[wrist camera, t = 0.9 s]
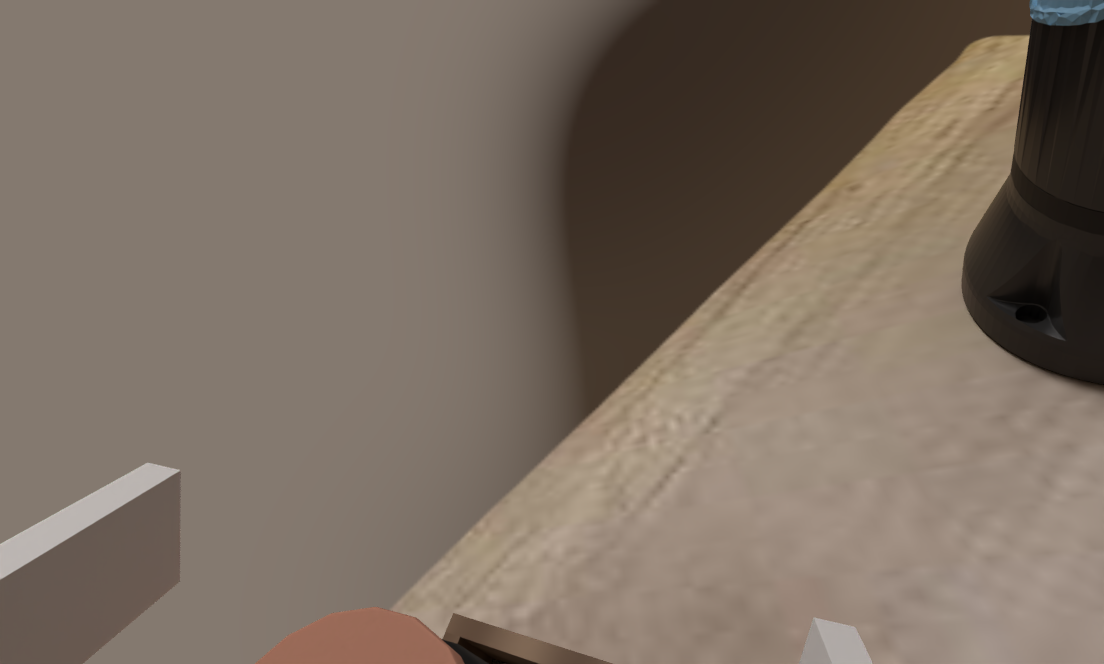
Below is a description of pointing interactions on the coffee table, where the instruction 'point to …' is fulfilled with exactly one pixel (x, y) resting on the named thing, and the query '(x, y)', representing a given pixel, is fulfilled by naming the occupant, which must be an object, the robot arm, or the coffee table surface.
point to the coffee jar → (367, 642)
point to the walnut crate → (509, 645)
